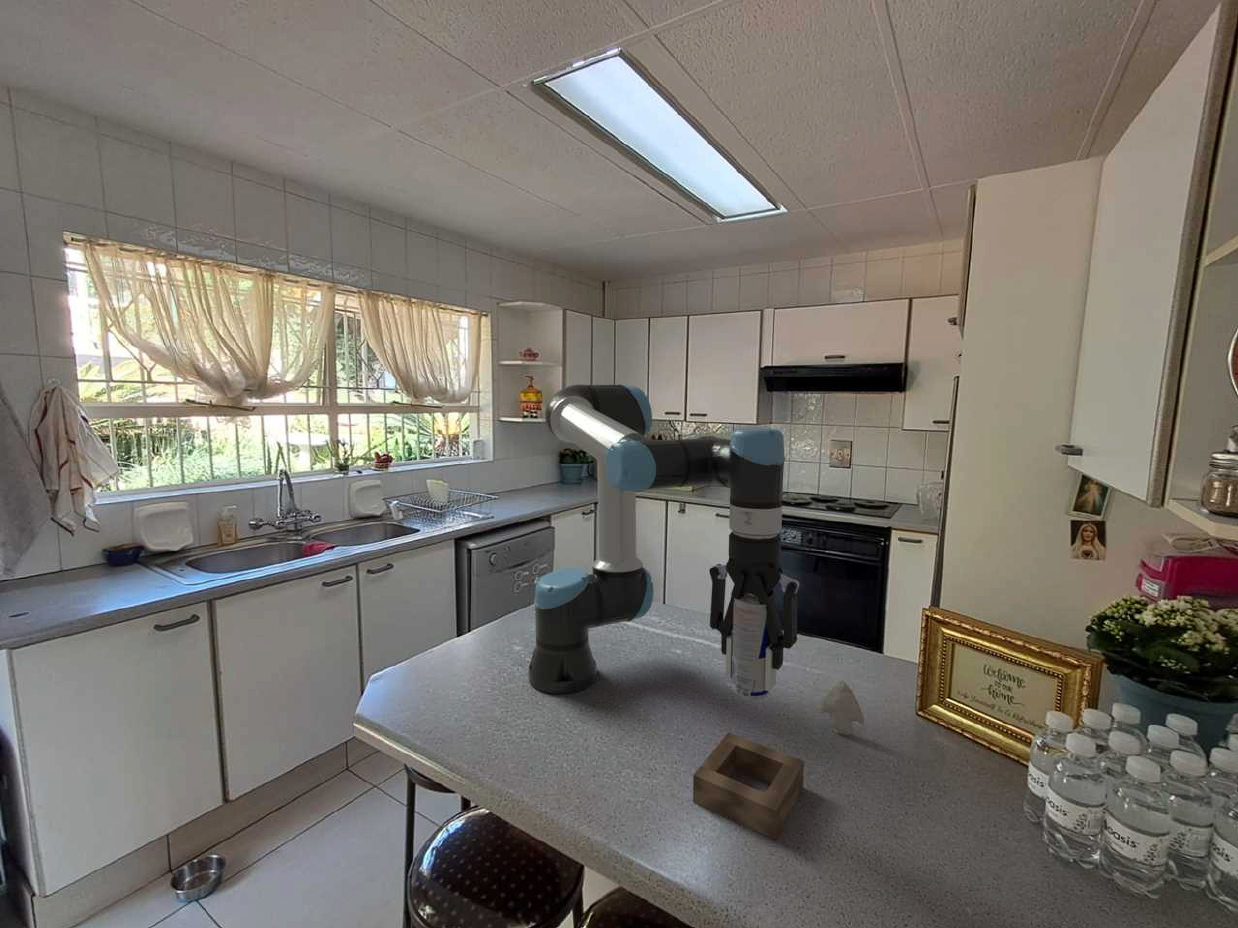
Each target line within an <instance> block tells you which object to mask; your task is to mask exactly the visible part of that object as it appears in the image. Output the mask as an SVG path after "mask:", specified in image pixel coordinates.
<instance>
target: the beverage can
mask: <svg viewBox="0 0 1238 928" xmlns="http://www.w3.org/2000/svg"><path fill="white" fill-rule="evenodd" d="M734 600H735V601H734V610H733V630H732V633H733V651H732V678H731V690H732V692H733V693H735V694H736V695H737V696H739V697H741V698H743V699H747V700H753V701H754V700H760V699H764V698H765V697H767V696H768V695H769V693H770V692H769V691H766V690H765V665H766V648H767V647H768V646H769V645H770V644H771V643H770V638H769V634H768V630H767V626H766V612H767V611H766V608H765V606H766V605H765V604H760V603H759V599H758V597H757V596H754V595H752V594H745V595H744V596H742V597H741V598H740V599H737V598H734Z"/></svg>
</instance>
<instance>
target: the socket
mask: <svg viewBox="0 0 1238 928" xmlns="http://www.w3.org/2000/svg"><path fill="white" fill-rule="evenodd" d="M804 768H805V761H804V760H802V759H799V758H797V757H795V756H791V755H789V754H787V753H784V752H781V751H779V750H775V749H773V748H770V747H768V746H766V745H763V744H760V743H757V742H755V741H752V740H749V739H746V738H744V737H741V736H738V735H736V734H734V733H730V732H727V733H726V735H724V737H723V738H722V739H721V741H719V743H718V744H717V746H716V747H715V748H714V749H713V750H712V752H711V753H710V754H709V755H708V756H707V758H706V759H705V760H704V761H703V762H702V764H701V765H700V766H699V767H698V769H697V770H696V771H695V772H694V774H693V778H692V780H693V783H692V802H693V803H695V804H697V805H699V806H702V807H704V808H706V809H708V810H710V811H712V812H714V813H717V814H718V815H721V816H723V817H726V818H727V819H729V820H731V821H733V822H736V823H738V824H740V825H742V826H744V827H746V828H748V829H750V830H753V831H754V832H756V833H758V834H759V833H760V834H761V835H763V836H766V837H768V838H770V839H772V840H773V841H776V840H777V838H778V836H779V835H780V832H781V830H782V829H783V826H784V825H785V822H786V821H787V819H788V817H789V814H790V812H791V811H792V809H793V807H794V805H795V803H796V801H797V800H798V798H799V795H800V793H801V791H802V790H803V787H804V773H805V772H804V771H805V769H804ZM735 771H737V772H739V773H741V774H744V775H746V776H749V777H751V778H754V779H756V780H758V781H761V782H763V783H765V784H768V785H769V787H768V788H767V789H766V792H763V791H761V790H758V789H756V788H754V787H752V786H750V785H747V784H744V783H742V782H740V781H737V780H735V779H733V778H731V776H732V775H733V774H734V773H735Z"/></svg>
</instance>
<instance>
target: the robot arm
mask: <svg viewBox="0 0 1238 928" xmlns="http://www.w3.org/2000/svg"><path fill="white" fill-rule="evenodd" d="M544 419H545V423H546V427H547V428H548V430H549V432H551V434H553V436H554V437H556V438H557V439H559V440H560V441H562V442H564V443H567V444H575V445H576V446H577V447H579V448H580V449H582V450H583V451H584V452H586V453H587V454H589V455H590V456H592V457H593V458H595V460H596V462H597V466H596V467H597V513H598V519H597V521H598V522H597V523H598V524H597V525H598V557H597V559H595V560H594V561H593V562H592V573H591V574H588V572H587V571H585V570H584V569H580V568H562V569H558V570H554V571H551V572H549V573H547V574H545V575H543V576H541V578H540V579H539V580H538V581H537V583H536V585H535V592H534V593H535V595H534V601H533V603H534V606H535V607H534V609H535V610H534V611H535V613H534V615H535V617H534V618H535V645H534V650H533V653H532V655H531V659H530V662H529V666H528V682H529V684H530V685H531V686H532V687H533V688H535V689H536V690H538V691H541V692H544V693H548V694H557V695H559V694H561V695H562V694H571V693H575V692H579V691H583V690H584V689H586V688H588V687H589V686H590V685H592V684H593V683H594V682H595V680H596V679H597V662H596V660H595V659H594V656H593V652H592V649H591V646H590V644H589V630H590V629H592V628H598V627H603V626H608V625H613V624H618V623H619V624H620V623H624V622H625V623H626V622H627V623H629V622H631V621H633V620H637V619H639V618H643V617H645V616H646V614H647V613H648V612H649V611H650V609H651V607H652V605H653V600H654V592H655V591H654V583H653V582H652V576H651V574H650V571H649V570H648V569H647V568H646V567H644V563H643V561H642V560H641V559H640V558H638V557H637V518H636V517H637V507H636V505H637V503H636V501H637V500H636V498H637V496H636V493H640V492H644V491H652V490H663V489H664V490H665V489H670V488H671V489H672V488H673V489H674V488H684V487H686V488H687V487H697V486H699V487H700V486H711V485H713V486H714V485H715V486H720V487H725V488H728V489H729V491H730V492H729V521H728V522H729V529H730V531H731V532H730V533H729V534H728V561H726V564H721V563H717V564H715V565H713V566H712V567H710V568H709V575H710V580H711V583H712V584H711V595H710V596H711V597H710V614H709V627H710V628H711V629H712V630H717V631H718V632H719V634H720V636H721V638H720V639H721V643H720V644H721V645H720V651H721V654H722V655H725V656H726V657H725V660H726V661H725V678H726V679H729V680H732V651H733V610H734V601H735V600H734V598H737V599H740V598H741V597H742V596H744V595H745V594H752V595H754V596H757V597H758V599H759V603H760V604H765V605H766V606H765V608H766V611H767V612H766V626H767V630H768V634H769V638H770V643H771V644H770V645H769V646H768V647H767V648H766V665H765V690H766V691H769V693H770V692H771V691H772V689H773V688H774V687H775V686H776V684H777V671H779V670H780V669H781V668H782V666H783V665H784V649H787V650H790V649H792V647H793V646H794V645H796V643H797V641H798V593H799V590H800V588H801V585H802V582H801V580H800V578H797V577H795V578H791V577H790V576H788V575H785V574H784V571H783V570H782V567H781V553H782V551H781V549H782V537H781V536H780V534H779V533H781V532H782V525H783V524H782V520H783V518H782V517H783V487H784V471H785V469H784V467H785V460H786V456H785V443H784V442H785V441H784V434H783V433H782V431H781V430H779V429H777V428H768V427H767V428H762V427H742V428H741V427H740V428H735V429H734V430H732V432H731V436H730V437H731V438H730V439H729V438H728V439H727V438H722V437H720V438H719V437H716V436H713V435H709V436H703V435H702V436H695V437H692V438H683V439H681V438H680V439H679V438H677V439H652V438H649V437H647V435H648V434H649V433H650V431H651V427H652V424H653V412H652V407H651V404H650V401H649V399H648V396H647V395H646V393H645V392H644V391H643V390H642V389H641V388H640V387H638V386H635V385H625V384H574V385H568V386H566V387H563V388H561V389H560V390H558V391H556V393H554V395H552V396H551V398H550V399H549V401H548V402H547V405H546V407H545V412H544ZM728 576H729V577H730V579H731V581H732V582H733V588H732V590H731V593H730V601H729V603H728V606H727V608H726V612H725V603H726V602H725V599H726V585H727V584H726V582H727V581H726V580H727V579H726V578H727V577H728ZM779 583H780V585H781V592H783V598H782V599H783V600H782V601H783V603H782V604H783V605H782V606H783V607H782V608H783V609H782V610H783V611H782V612H783V615H782V617H783V618H782V619H783V626H782V623H781V620H780V615H779V611H778V607H777V602H776V593H775V589H774V588H775V587H776V586H777V585H778V584H779ZM782 627H783V628H782Z"/></svg>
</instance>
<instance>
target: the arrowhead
mask: <svg viewBox="0 0 1238 928" xmlns="http://www.w3.org/2000/svg"><path fill="white" fill-rule="evenodd" d="M859 704H860V703H858V700H857V699H856V696H855V694H854V692H853V691H852V689H851V688H850V687H849V685H848V683H846V682H845V681H844V680H839V681H838V682H837V683H836V684H835V685H833V686H832V687H831V689H830V690H829V691H828V692H827V694H826V696H825V697H824V698H823V699H822V701H821V703H820V705H819V711H820V713H821V714H825V713H827V714H829V716H830V717H829V718H830V719H829V720H830V721H831V723H832V725H833V728H834V729H835V730H836V732H837V733H838V734H841V735H843V736H846V737H847V736H851V735H852V736H853V735H854V734H855V729H854V727H853V722H858V723H860V724H861V725H862V726H864V725H865V717H864V712H863V711H862V709H861V707H860V705H859Z"/></svg>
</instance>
